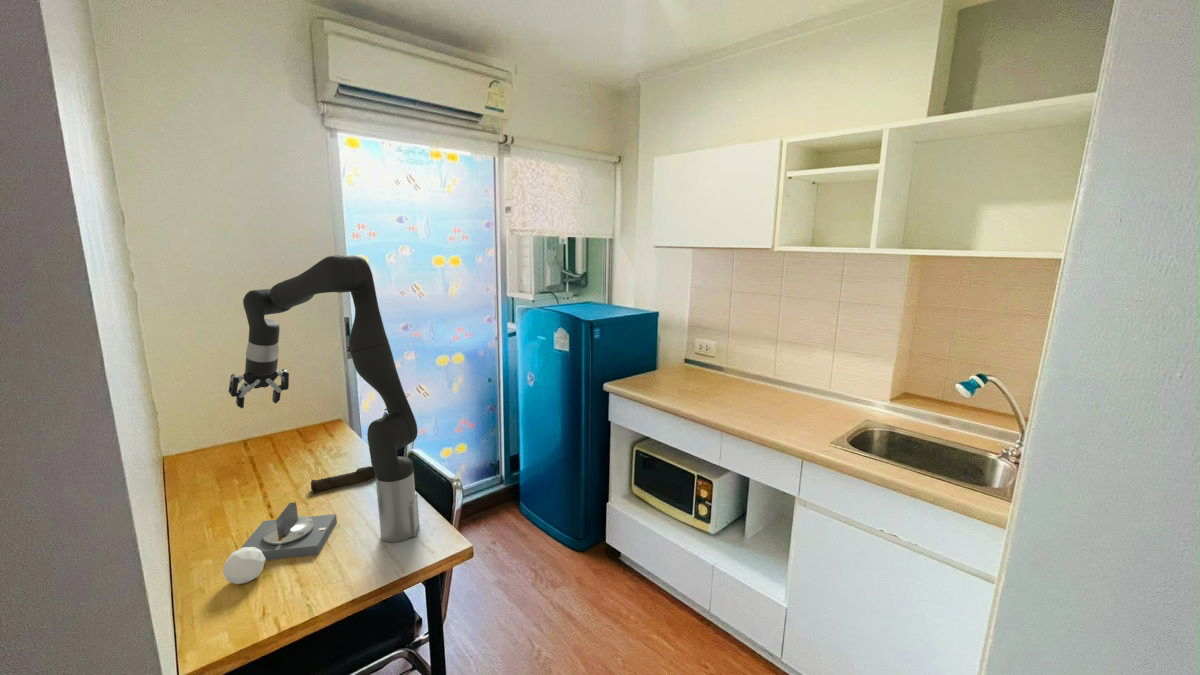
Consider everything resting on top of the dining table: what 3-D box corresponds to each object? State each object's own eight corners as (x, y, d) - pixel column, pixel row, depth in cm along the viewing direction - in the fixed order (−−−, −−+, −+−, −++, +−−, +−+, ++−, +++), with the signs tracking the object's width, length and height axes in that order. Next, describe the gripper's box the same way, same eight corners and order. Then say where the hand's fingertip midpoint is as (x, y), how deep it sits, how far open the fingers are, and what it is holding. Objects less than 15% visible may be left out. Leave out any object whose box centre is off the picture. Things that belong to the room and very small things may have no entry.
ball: (253, 592, 109) (249, 581, 104) (217, 583, 108) (210, 571, 103) (274, 559, 115) (271, 547, 110) (240, 550, 114) (235, 537, 108)
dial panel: (336, 522, 132) (335, 513, 131) (318, 554, 118) (317, 544, 118) (264, 529, 128) (263, 520, 128) (237, 563, 115) (235, 553, 114)
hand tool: (311, 495, 145) (309, 482, 144) (312, 489, 149) (310, 476, 148) (379, 482, 154) (377, 469, 153) (378, 476, 158) (377, 463, 157)
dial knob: (320, 517, 129) (317, 497, 128) (304, 542, 119) (301, 521, 117) (275, 521, 127) (272, 501, 126) (254, 547, 116) (251, 525, 115)
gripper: (236, 363, 128) (233, 415, 133) (295, 358, 139) (290, 406, 144) (227, 352, 132) (224, 402, 137) (285, 348, 144) (281, 394, 148)
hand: (258, 404), depth 141 cm, fingers open, 8 cm apart
